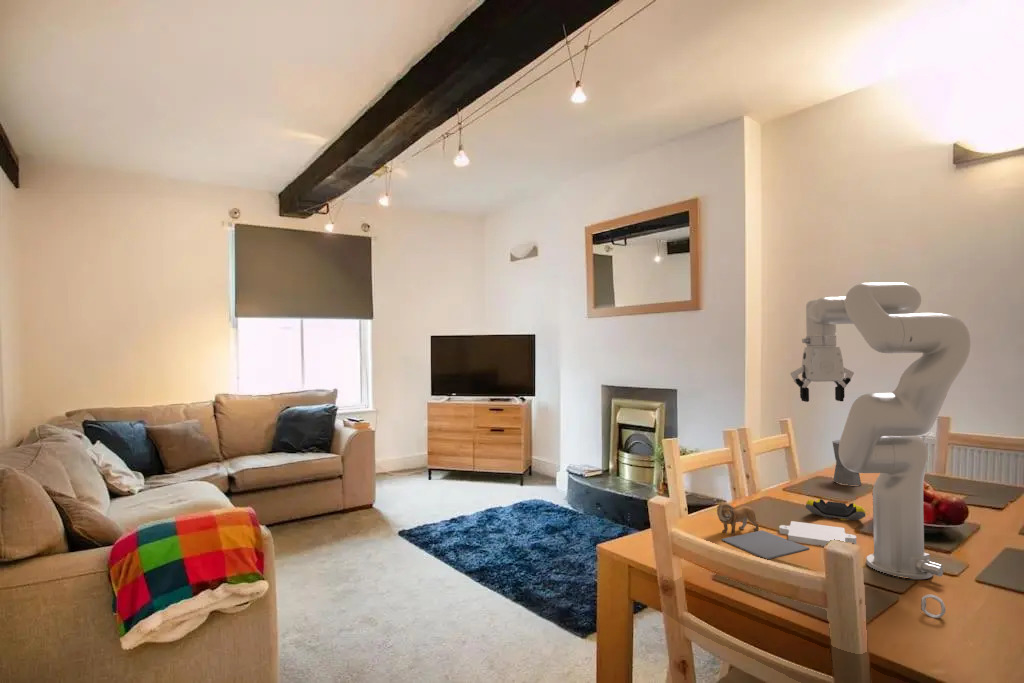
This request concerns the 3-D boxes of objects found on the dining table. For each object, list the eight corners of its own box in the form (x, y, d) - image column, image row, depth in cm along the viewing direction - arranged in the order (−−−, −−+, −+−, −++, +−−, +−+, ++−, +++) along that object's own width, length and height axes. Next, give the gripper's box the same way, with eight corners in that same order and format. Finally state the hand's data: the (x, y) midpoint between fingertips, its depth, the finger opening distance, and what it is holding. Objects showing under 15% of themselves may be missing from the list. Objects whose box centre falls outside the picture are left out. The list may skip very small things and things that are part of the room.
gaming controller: (865, 527, 153) (866, 518, 161) (865, 508, 153) (865, 499, 161) (805, 518, 161) (809, 510, 170) (804, 500, 161) (808, 492, 170)
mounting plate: (777, 540, 145) (777, 533, 145) (781, 526, 156) (781, 519, 156) (857, 552, 136) (857, 545, 136) (855, 536, 147) (855, 529, 147)
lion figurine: (727, 539, 145) (727, 506, 145) (712, 533, 150) (711, 501, 150) (764, 530, 152) (763, 498, 152) (748, 524, 157) (747, 493, 157)
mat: (809, 549, 137) (809, 547, 137) (766, 559, 131) (766, 558, 131) (762, 531, 151) (761, 530, 151) (721, 540, 145) (721, 538, 145)
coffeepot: (824, 478, 206) (824, 431, 206) (850, 479, 206) (849, 431, 206) (846, 489, 191) (845, 438, 191) (874, 490, 190) (873, 438, 190)
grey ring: (946, 617, 103) (945, 596, 103) (945, 622, 101) (944, 600, 101) (922, 611, 105) (921, 591, 105) (921, 616, 104) (920, 595, 104)
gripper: (796, 342, 154) (797, 402, 154) (859, 341, 153) (860, 402, 153) (785, 342, 162) (786, 400, 162) (844, 341, 161) (845, 399, 161)
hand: (822, 401), depth 158 cm, fingers open, 9 cm apart
